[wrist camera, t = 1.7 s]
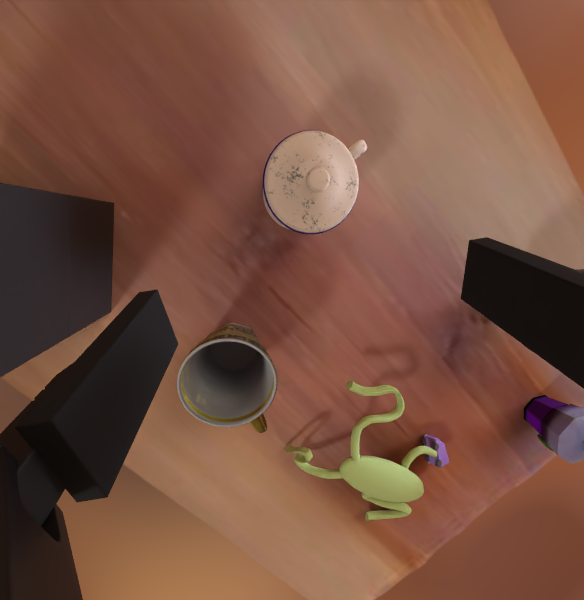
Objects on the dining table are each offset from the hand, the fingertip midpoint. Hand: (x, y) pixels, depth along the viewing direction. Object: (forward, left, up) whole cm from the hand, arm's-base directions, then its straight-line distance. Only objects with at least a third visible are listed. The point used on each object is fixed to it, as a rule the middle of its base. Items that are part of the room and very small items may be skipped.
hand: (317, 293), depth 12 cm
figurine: (+33, +2, -25) cm, 42 cm away
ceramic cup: (+11, -10, -25) cm, 29 cm away
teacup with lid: (-6, +6, -25) cm, 27 cm away
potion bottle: (+40, +31, -25) cm, 57 cm away
